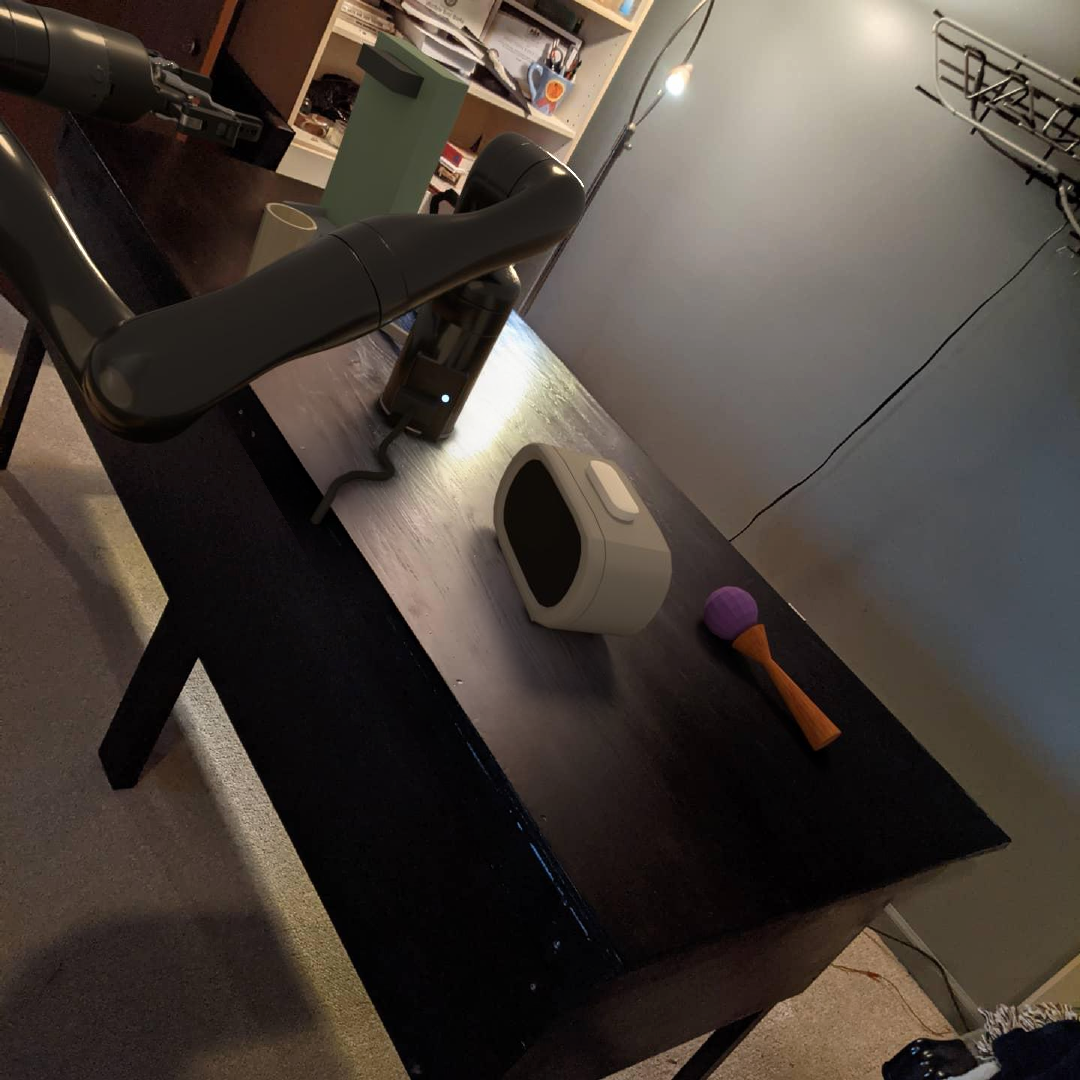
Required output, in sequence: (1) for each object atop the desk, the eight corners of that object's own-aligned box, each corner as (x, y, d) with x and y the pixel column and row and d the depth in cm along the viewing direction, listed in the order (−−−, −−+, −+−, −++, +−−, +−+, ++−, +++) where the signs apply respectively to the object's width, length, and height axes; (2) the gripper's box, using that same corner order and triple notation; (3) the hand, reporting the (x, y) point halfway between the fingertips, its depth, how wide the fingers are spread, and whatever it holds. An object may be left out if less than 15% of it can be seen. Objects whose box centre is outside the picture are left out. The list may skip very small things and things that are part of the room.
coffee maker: (319, 260, 124) (392, 57, 109) (263, 211, 128) (326, 9, 113) (395, 266, 137) (470, 85, 122) (342, 221, 141) (407, 41, 126)
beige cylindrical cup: (282, 315, 105) (310, 234, 100) (235, 294, 103) (261, 210, 98) (293, 299, 110) (320, 221, 104) (248, 278, 108) (273, 198, 103)
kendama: (826, 735, 83) (709, 581, 92) (793, 764, 87) (684, 613, 96) (862, 718, 86) (745, 571, 96) (828, 747, 90) (720, 603, 100)
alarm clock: (478, 512, 92) (534, 412, 85) (551, 526, 97) (608, 433, 90) (537, 655, 78) (610, 549, 71) (618, 663, 83) (693, 564, 76)
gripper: (27, 69, 77) (183, 110, 90) (115, 150, 73) (264, 180, 86) (44, -17, 73) (203, 39, 87) (137, 62, 69) (289, 108, 83)
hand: (233, 109), depth 86 cm, fingers open, 8 cm apart
